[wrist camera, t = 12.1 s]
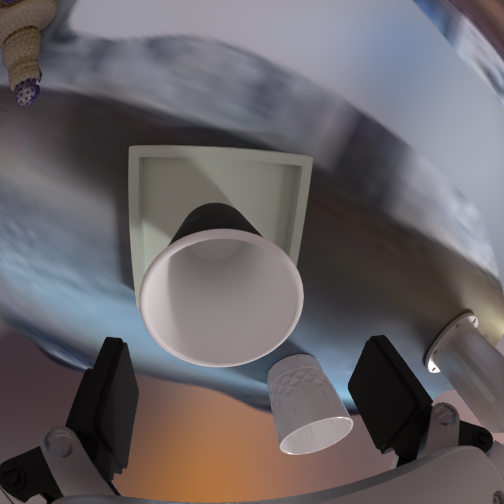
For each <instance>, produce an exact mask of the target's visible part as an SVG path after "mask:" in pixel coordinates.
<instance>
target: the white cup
mask: <svg viewBox="0 0 504 504" xmlns="http://www.w3.org/2000/svg"><path fill="white" fill-rule="evenodd" d="M267 384H268V389H269V395H270V403H271V407H272V414H273V419H274V423H275V428H276V433H277V438H278V442H279V447H280V449H281V451H282V452H284V453H287V454H294V455H297V454H307V453H312V452H316V451H319V450H321V449H324V448H327V447H329V446H331V445H333V444H335V443H336V442H338V441H340V440H341V439H342V438H343V437H345V436H346V435H347V434H348V433H349V432H350V430H351V429H352V427H353V421H352V419H351V417H350V415H349V414H348V412H347V410H346V408H345V406H344V404H343V403H342V401H341V399H340V397H339V395H338V393H337V392H336V390H335V388H334V387H333V385H332V383H331V381H330V380H329V378H328V377H327V376H326V375H325V373H324V371H323V369H322V367H321V366H320V364H319V362H318V360H317V359H316V358H314V357H312V356H310V355H305V354H296V355H292V356H289V357H285V358H283V359H282V360H280V361H278V362H277V363H275V364H274V365H273V366H272V368H271V369H270V370H269V371H268V375H267Z"/></svg>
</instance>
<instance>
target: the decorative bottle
mask: <svg viewBox="0 0 504 504" xmlns="http://www.w3.org/2000/svg"><path fill="white" fill-rule="evenodd" d="M57 10H58V5H57V0H0V48H3V49H2V52H3V62H4V64H5V66H6V68H7V69H8V73H9V82H10V88H11V90H13V91H15V98H16V100H17V102H18V103H19V105H21V106H29V105H30V104H32V103H33V102H34V101H35V99H36V97H37V95H38V94H39V91H40V87H39V85H36V82H37V80H38V81H39V82H40V81H41V77H42V73H41V70H40V68H39V63H38V56H39V52H40V48H41V34H40V31H41V30H43V29H44V28H45V27H47V26H48V25H49V24H50V23H51V22H52V20H53V19H54V17H55V15H56V13H57Z"/></svg>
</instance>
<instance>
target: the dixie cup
mask: <svg viewBox="0 0 504 504" xmlns="http://www.w3.org/2000/svg"><path fill="white" fill-rule="evenodd" d="M303 299H304V294H303V285H302V281H301V277H300V274H299V272H298V270H297V268H296V266H295V264H294V263H293V262H292V260H291V259H290V258H289V256H288V255H287V254H286V253H285V252H284V251H283V250H282V249H280V248H279V247H278V246H277V245H275V244H274V243H272V242H271V241H269V240H267V239H265V238H264V237H263V236H262V235H261V234H260V233H259V232H258V231H257V230H256V229H255V228H254V227H253V226H252V225H251V224H250V222H249V221H248V220H247V219H246V218H245V217H244V216H243V215H242V214H241V213H240V212H239V211H238V210H237V209H235V208H234V207H232V206H230V205H227V204H223V203H207V204H204V205H201V206H199V207H197V208H196V209H194V210H193V211H192V212H191V213H190V214H189V215H188V216H187V217H186V219H185V220H184V222H183V223H182V225H181V226H180V228H179V229H178V231H177V232H176V234H175V236H174V237H173V239H172V240H171V242H170V243H169V245H168V247H167V248H165V249H164V250H163V251H162V252H161V253H160V254H159V255H158V256H157V257H156V258H155V259H154V260H153V261H152V263H151V264H150V266H149V267H148V269H147V271H146V273H145V275H144V277H143V280H142V283H141V287H140V293H139V305H140V312H141V316H142V319H143V322H144V324H145V326H146V328H147V330H148V332H149V333H150V335H151V336H152V337H153V339H154V340H155V341H156V342H157V343H158V344H159V345H160V346H161V347H162V348H164V349H165V350H166V351H168V352H169V353H170V354H172V355H174V356H176V357H177V358H180V359H182V360H184V361H187V362H189V363H193V364H196V365H201V366H207V367H231V366H237V365H242V364H246V363H249V362H252V361H254V360H257V359H259V358H261V357H263V356H265V355H267V354H268V353H270V352H272V351H273V350H274V349H276V348H277V347H278V346H279V345H281V344H282V343H283V342H284V341H285V340H286V339H287V337H288V336H289V335H290V334H291V332H292V331H293V329H294V328H295V326H296V324H297V322H298V320H299V318H300V315H301V312H302V307H303Z"/></svg>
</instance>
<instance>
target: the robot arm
mask: <svg viewBox="0 0 504 504" xmlns="http://www.w3.org/2000/svg"><path fill="white" fill-rule="evenodd" d="M477 327H478V319H477V317H476V316H475V315H474V314H473V313H465V314H462V315H460V316H459V317H457V318H456V319H455V320H453V321H452V322H451V323H450V324H449V325H448V326H447V327H446V328H445V329H444V330H443V331H442V332H441V333H440V335H439V336H438V337H437V338H436V340H435V341H434V343H433V344H432V346H431V348H430V349H429V351H428V354H427V356H426V360H425V366H426V368H427V369H428V371H429V372H432V373H435V372H439V371H441V372H442V374H443V375H444V376H445V377H446V379H447V380H448V381H449V382H450V384H451V385H452V386H453V388H454V389H455V390H456V391H457V393H458V394H459V395H460V397H461V398H462V399H463V400H464V402H465V403H466V404H467V406H468V407H469V408H470V410H471V411H472V412H473V414H474V415H475V417H476V418H477V419H478V421H479V422H480V423H481V425H482V426H483V427H484V428H483V427H480V426H476V425H473V424H470V423H467V422H464V421H461V420H460V418H459V413H458V411H457V410H456V409H455V407H453V406H452V405H450V404H448V403H443V402H442V403H438V404H436V405H435V406H434V407H433V406H432V405H431V404H432V403H433V400H432V399H431V397H430V396H429V395H428V393H427V392H426V390H425V389H424V387H423V386H422V385H421V383H420V382H419V380H418V379H417V378H416V376H415V375H414V373H413V372H412V371H411V369H410V368H409V367H408V365H407V364H406V362H405V361H404V360H403V358H402V357H401V356H400V354H399V353H398V352H397V350H396V349H395V348H394V346H393V345H392V344H391V342H390V341H389V340H388V338H387V337H386V336H385V335H379V336H372V337H370V339H369V340H368V341H367V342H366V344H365V346H364V349H363V351H362V353H361V356H360V358H359V360H358V363H357V365H356V367H355V370H354V372H353V374H352V376H351V378H350V381H349V383H348V390H349V392H350V394H351V396H352V399H353V401H354V403H355V405H356V407H357V409H358V411H359V413H360V415H361V417H362V419H363V421H364V423H365V425H366V427H367V429H368V432H369V434H370V436H371V438H372V440H373V442H374V444H375V446H376V448H377V449H380V451H381V453H382V454H385V453H388V452H391V451H393V450H394V451H395V453H396V455H395V458H394V461H393V464H392V467H391V470H389V471H387V472H384V473H381V474H378V475H375V476H372V477H369V478H366V479H363V480H360V481H357V482H353V483H350V484H346V485H342V486H338V487H335V488H331V489H327V490H322V491H318V492H313V493H308V494H302V495H297V496H291V497H284V498H277V499H269V500H260V501H248V502H232V503H231V502H230V503H191V502H172V501H160V500H150V499H142V498H133V497H124V496H122V495H121V494H120V492H119V491H118V489H117V488H116V487H115V485H114V484H113V483H112V481H111V480H113V477H114V473H118V474H122V468H127V465H128V457H129V451H130V444H131V437H132V431H133V425H134V419H135V413H136V407H137V402H138V396H139V390H138V386H137V382H136V378H135V374H134V371H133V367H132V362H131V358H130V354H129V350H128V345H127V343H124V342H123V341H122V339H121V338H114V337H106V339H105V341H104V343H103V345H102V348H101V350H100V353H99V355H98V358H97V360H96V363H95V365H94V368H93V369H91V368H88V369H87V370H86V371H85V373H84V376H83V378H82V381H81V383H80V386H79V389H78V391H77V394H76V397H75V399H74V402H73V405H72V408H71V410H70V413H69V417H68V419H67V422H66V425H65V427H64V426H53V427H50V428H48V429H47V430H46V431H45V432H44V433H43V434H42V436H41V439H40V446H39V447H36V448H34V449H32V450H30V451H28V452H25V453H23V454H21V455H18V456H16V457H14V458H11V459H9V460H6V461H5V462H3V463H2V464H1V465H0V504H504V444H503V445H502V444H501V443H499V442H497V441H496V440H495V441H494V442H493V437H492V435H491V433H490V432H493V433H504V356H503V355H502V354H501V353H500V352H499V351H498V350H497V348H496V347H495V346H494V345H493V344H492V343H491V342H490V341H488V340H487V339H488V336H487V335H486V334H484V335H482V334H481V333H480V332H479V331H478V330H477Z"/></svg>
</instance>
